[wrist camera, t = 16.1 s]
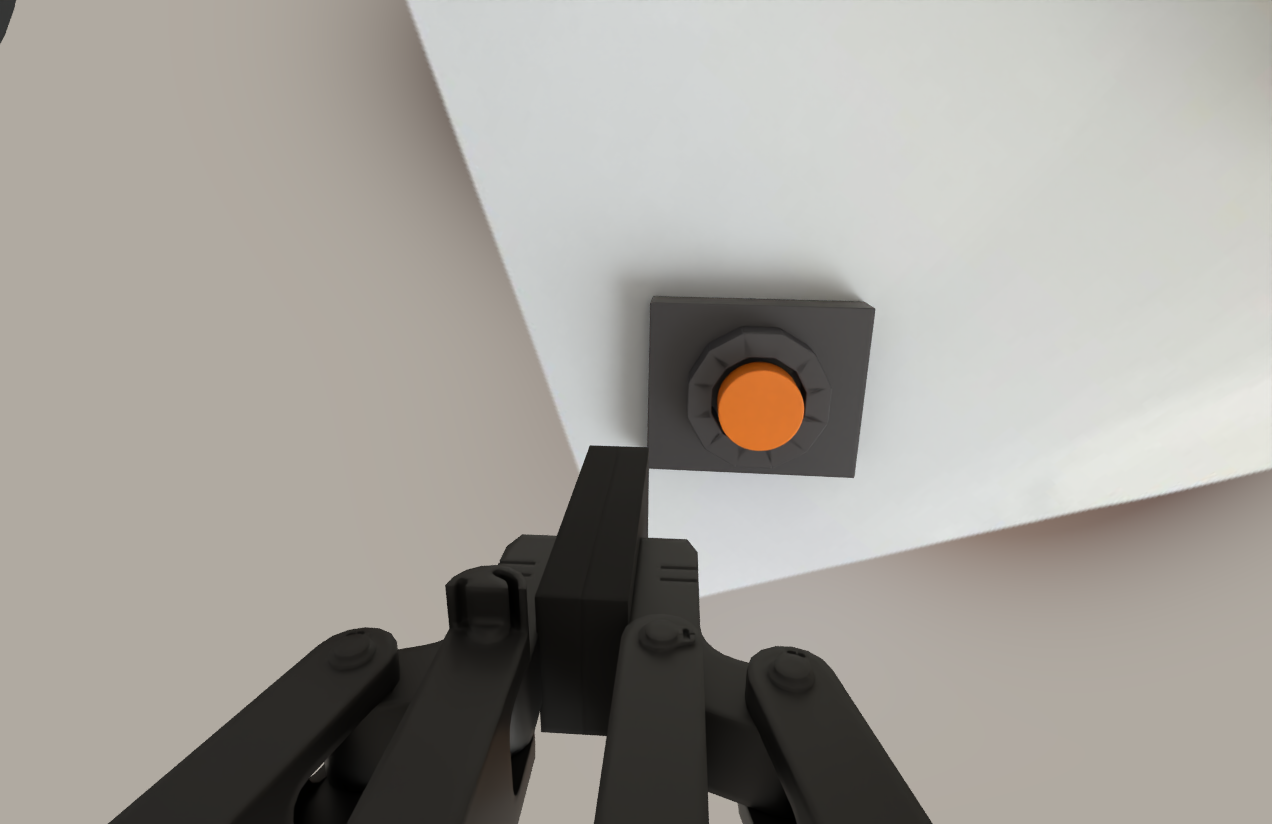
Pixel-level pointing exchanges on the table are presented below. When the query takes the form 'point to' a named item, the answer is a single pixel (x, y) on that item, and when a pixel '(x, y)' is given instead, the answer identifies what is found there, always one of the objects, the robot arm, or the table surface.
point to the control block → (744, 333)
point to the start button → (759, 406)
